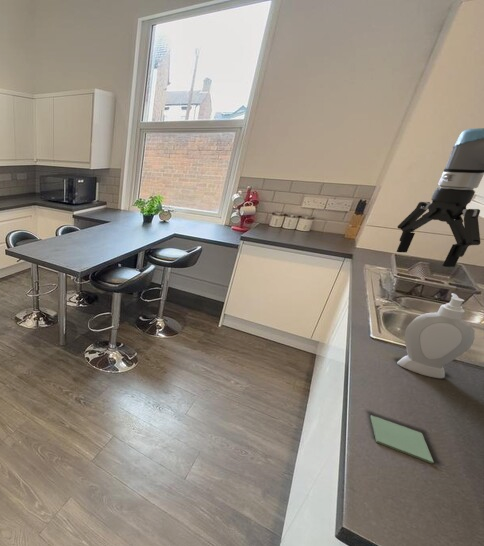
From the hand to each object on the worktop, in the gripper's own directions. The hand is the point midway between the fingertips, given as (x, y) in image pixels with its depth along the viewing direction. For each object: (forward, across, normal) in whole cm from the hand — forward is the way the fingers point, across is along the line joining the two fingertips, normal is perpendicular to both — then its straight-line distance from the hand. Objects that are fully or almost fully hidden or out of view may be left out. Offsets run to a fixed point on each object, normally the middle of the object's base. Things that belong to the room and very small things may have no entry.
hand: (423, 258), depth 96 cm
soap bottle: (+31, +13, -2) cm, 34 cm away
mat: (+31, +38, -33) cm, 59 cm away
